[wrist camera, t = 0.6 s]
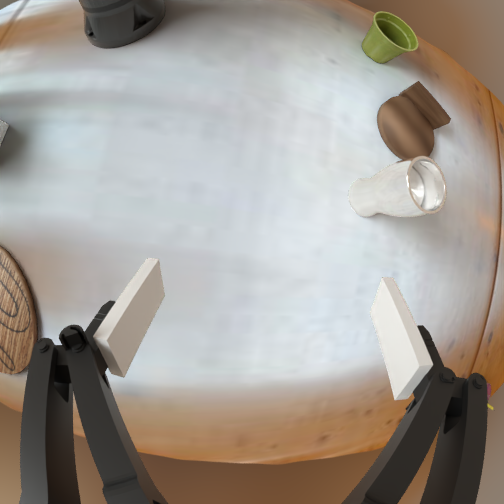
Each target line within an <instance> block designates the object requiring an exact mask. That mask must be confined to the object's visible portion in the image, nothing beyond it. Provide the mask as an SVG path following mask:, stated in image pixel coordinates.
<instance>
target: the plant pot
mask: <svg viewBox="0 0 504 504" xmlns="http://www.w3.org/2000/svg"><path fill="white" fill-rule="evenodd" d="M362 48H363V51H364V52H365V54H366V55H367V56H368V57H370V58H372V59H373V60H374V61H375V62H378V63H386V62H388V61H390V60H391V59H393V58H395V57H397V56H398V55H400V54H402V53H404V52H409V51H414V50H416V49H417V48H418V40H417V37H416V35H415V33H414V32H413V30H412V29H411V28H410V27H409V26H408V25H407V24H406V23H405V22H404V21H403V20H401V19H400V18H398V17H397V16H395V15H393V14H391V13H388V12H377V13H376V14H375V15H374V17H373V25H372V26H371V28H370V30H369V32H368V33H367V35H366V37H365V38H364V40H363V42H362Z"/></svg>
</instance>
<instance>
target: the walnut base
mask: <svg viewBox="0 0 504 504" xmlns="http://www.w3.org/2000/svg"><path fill="white" fill-rule="evenodd" d="M450 120H451V118H450V117H449V115H448V114H447V113H446V112H445V110H444V109H443V108H442V107H441V106H440V104H439V103H438V102H437V101H436V100H435V98H434V97H433V96H432V95H431V94H430V93H429V92H428V90H427V89H426V88H425V87H424V86H423V85H422V84H421V83H420V82H419V81H418V82H416V83H415V84H413V85H412V86H410V87H409V88H407V89H406V90H404V91H403V92H401V93H400V94H399V96H396V97H392V98H390V99H389V100H388V101H386V102H385V103H383V104H382V105H381V107H380V108H379V111H378V115H377V123H378V128H379V132H380V134H381V137H382V139H383V141H384V142H385V144H386V145H387V147H388V148H389V149H390V150H391V151H392V152H393V153H394V154H395V155H396V156H397V157H399V158H400V159H402V160H405V159H410V158H415V157H418V156H426V157H428V156H429V155H430V154H431V152H432V150H433V147H434V133H433V130H434V129H436V128H439V127H441V126H443V125H446V124H448V123H449V122H450Z"/></svg>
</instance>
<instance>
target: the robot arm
mask: <svg viewBox="0 0 504 504" xmlns="http://www.w3.org/2000/svg"><path fill="white" fill-rule="evenodd" d="M79 2H80V4H81V6H82V8H83V10H84V31H85V34H86V36H87V38H88V39H89V41H90V42H91V43H92V44H93V45H94V46H97V47H101V48H114V47H119V46H123V45H126V44H129V43H132V42H134V41H136V40H138V39H140V38H142V37H143V36H145V35H147V34H148V33H150V32H151V31H152V30H153V29H154V28H155V27H157V25H158V24H159V23H160V22H161V20H162V19H163V17H164V14H165V5H164V0H79ZM164 297H165V293H164V287H163V282H162V276H161V269H160V263H159V259H153V258H147V259H146V261H145V262H144V263H143V265H142V266H141V267H140V269H139V270H138V271H137V273H136V274H135V275H134V277H133V278H132V280H131V281H130V282H129V284H128V285H127V287H126V288H125V289H124V291H123V292H122V294H121V295H120V297H119V298H118V300H117V301H109V302H107V303H106V304H104V305H103V306H102V307H101V309H100V310H99V312H98V314H97V315H96V316H95V317H94V319H93V320H92V322H91V323H90V325H89V326H88V328H87V329H86V331H85V332H84V331H83V329H82V327H80V326H79V325H70V326H68V327H66V328H64V329H63V330H62V331H61V333H60V335H59V340H60V341H61V343H62V345H54V343H53V341H52V340H51V339H49V338H43V339H40V340H39V341H37V342H36V343H35V344H34V347H33V350H32V355H31V359H30V364H29V370H28V375H27V381H26V388H25V395H24V403H23V412H22V424H21V443H20V468H21V488H22V493H21V497H20V502H19V504H81V502H80V495H79V489H78V482H77V474H76V465H75V454H74V439H73V392H74V396H75V400H76V404H77V408H78V412H79V415H80V419H81V422H82V426H83V429H84V432H85V436H86V439H87V442H88V444H89V447H90V450H91V453H92V456H93V458H94V461H95V464H96V466H97V469H98V471H99V474H100V476H101V478H102V481H103V484H104V487H103V494H104V497H105V499H106V501H107V503H108V504H168V503H167V502H166V500H165V498H164V497H163V496H162V495H161V493H160V492H159V491H158V489H157V488H156V486H155V485H154V483H153V481H152V479H151V477H150V476H149V474H148V472H147V470H146V468H145V466H144V465H143V462H142V461H141V458H140V456H139V454H138V452H137V450H136V448H135V446H134V444H133V442H132V440H131V437H130V435H129V433H128V431H127V428H126V426H125V424H124V421H123V419H122V417H121V414H120V412H119V409H118V406H117V404H116V401H115V399H114V396H113V393H112V390H111V387H110V385H109V382H108V379H107V376H106V374H105V371H106V369H107V368H109V370H110V372H111V374H114V375H117V376H121V377H125V375H126V373H127V371H128V369H129V367H130V364H131V362H132V360H133V358H134V356H135V354H136V352H137V350H138V348H139V346H140V344H141V342H142V340H143V338H144V336H145V334H146V332H147V330H148V328H149V326H150V324H151V322H152V320H153V318H154V316H155V314H156V312H157V310H158V308H159V306H160V304H161V302H162V300H163V299H164ZM370 315H371V318H372V321H373V324H374V327H375V331H376V334H377V337H378V340H379V344H380V347H381V350H382V354H383V357H384V361H385V364H386V368H387V372H388V375H389V379H390V383H391V387H392V391H393V395H394V399H395V400H401V399H408V398H409V396H410V395H411V394H412V393H413V394H414V397H415V398H414V400H413V401H412V402H411V403H410V404H409V405H408V407H407V408H406V410H407V409H408V410H407V411H406V413H405V415H404V417H403V419H402V420H401V422H400V424H399V425H398V427H397V429H396V430H395V432H394V434H393V435H392V437H391V438H390V440H389V442H388V443H387V445H386V446H385V448H384V449H383V451H382V452H381V454H380V455H379V456H378V458H377V459H376V461H375V462H374V464H373V465H372V466H371V468H370V469H369V470H368V472H367V473H366V474H365V476H364V477H363V478H362V480H361V481H360V482H359V484H358V485H357V486H356V487H355V488H354V490H353V491H352V492H351V493H350V494H349V496H348V497H347V498H346V499H345V500H344V501H343V502H342V504H397V503H398V502H399V500H400V499H401V497H402V496H403V494H404V493H405V491H406V490H407V488H408V486H409V485H410V483H411V481H412V480H413V478H414V476H415V475H416V473H417V471H418V469H419V467H420V466H421V464H422V462H423V460H424V458H425V456H426V454H427V452H428V451H429V448H430V446H431V444H432V442H433V440H434V438H435V436H436V434H437V431H438V429H439V427H440V429H439V434H438V439H437V444H436V449H435V453H434V458H433V462H432V466H431V470H430V474H429V477H428V480H427V484H426V487H425V491H424V493H423V496H422V499H421V502H420V504H475V502H476V498H477V494H478V489H479V485H480V479H481V474H482V468H483V460H484V453H485V443H486V431H487V409H488V408H487V407H488V393H487V382H486V380H485V378H484V377H483V376H482V375H480V374H478V373H473V374H471V375H470V376H469V378H468V379H464V378H459V377H456V375H455V374H454V372H453V371H452V370H451V369H449V368H446V367H444V365H443V363H442V360H441V358H440V356H439V353H438V351H437V349H436V347H435V344H434V342H433V341H432V338H431V335H430V333H429V332H428V331H427V329H426V328H425V327H424V326H423V325H422V326H417V325H416V323H415V321H414V319H413V316H412V314H411V312H410V310H409V308H408V306H407V304H406V302H405V300H404V298H403V296H402V294H401V292H400V290H399V288H398V286H397V284H396V282H395V280H394V278H388V277H382V279H381V282H380V285H379V288H378V291H377V294H376V297H375V299H374V302H373V305H372V308H371V310H370Z"/></svg>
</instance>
